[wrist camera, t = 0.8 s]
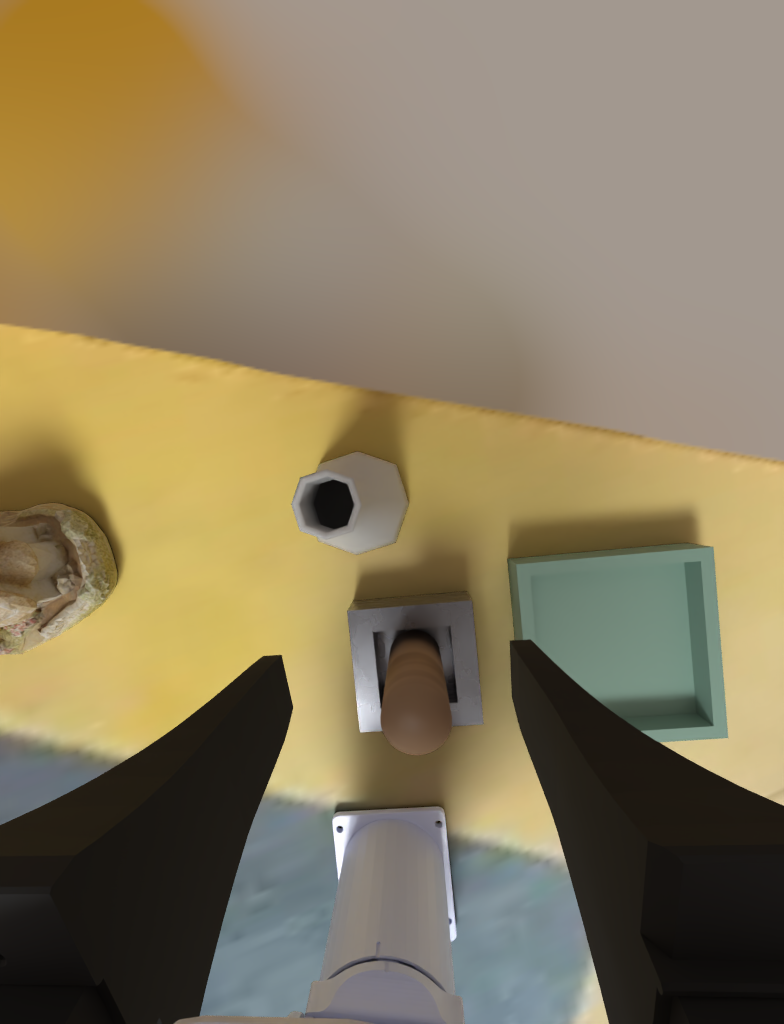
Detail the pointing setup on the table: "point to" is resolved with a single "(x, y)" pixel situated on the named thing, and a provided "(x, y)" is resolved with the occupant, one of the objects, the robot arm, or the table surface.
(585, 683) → the tray
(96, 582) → the ceramic model
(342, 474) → the flask
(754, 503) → the table surface
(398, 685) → the pin
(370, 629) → the square metal dish
